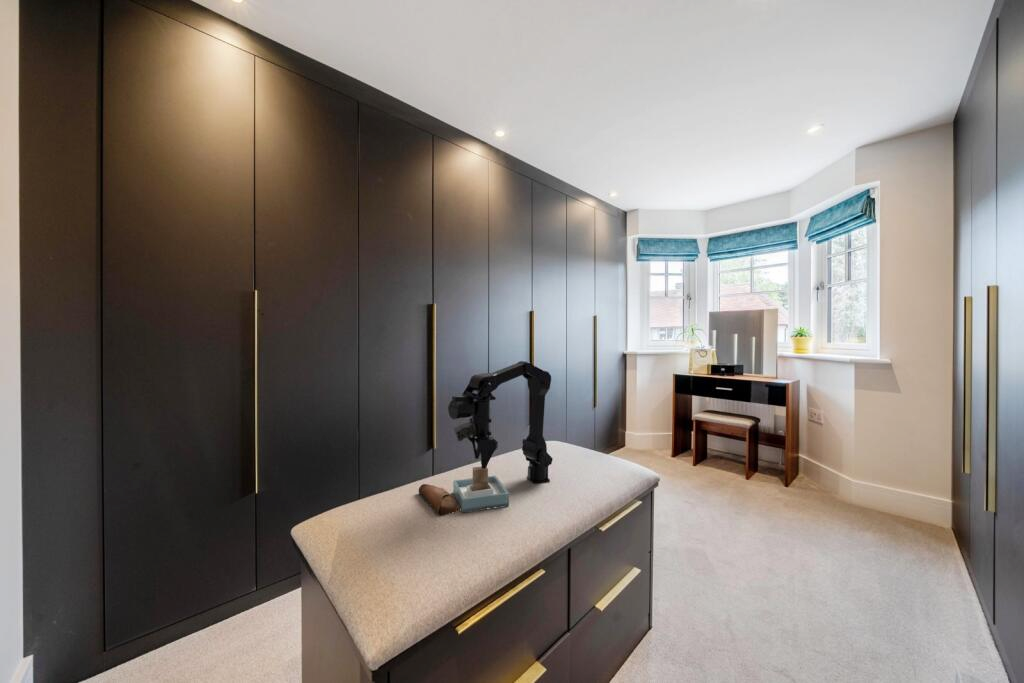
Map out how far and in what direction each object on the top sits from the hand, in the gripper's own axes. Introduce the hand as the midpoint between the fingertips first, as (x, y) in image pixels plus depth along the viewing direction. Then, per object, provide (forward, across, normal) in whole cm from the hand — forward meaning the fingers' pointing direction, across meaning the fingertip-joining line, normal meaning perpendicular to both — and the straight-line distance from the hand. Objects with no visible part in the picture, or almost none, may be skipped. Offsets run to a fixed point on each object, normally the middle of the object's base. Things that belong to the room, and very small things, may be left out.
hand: (480, 463), depth 120 cm
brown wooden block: (+10, 0, 0) cm, 10 cm away
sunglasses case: (+12, -2, -12) cm, 17 cm away
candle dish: (+12, 0, 0) cm, 12 cm away
